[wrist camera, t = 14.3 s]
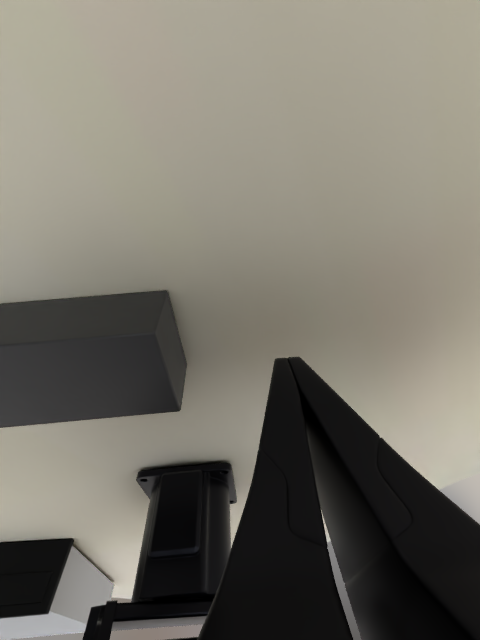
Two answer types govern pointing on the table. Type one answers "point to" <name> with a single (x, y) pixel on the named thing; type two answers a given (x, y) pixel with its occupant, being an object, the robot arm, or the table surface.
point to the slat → (89, 359)
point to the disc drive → (47, 589)
